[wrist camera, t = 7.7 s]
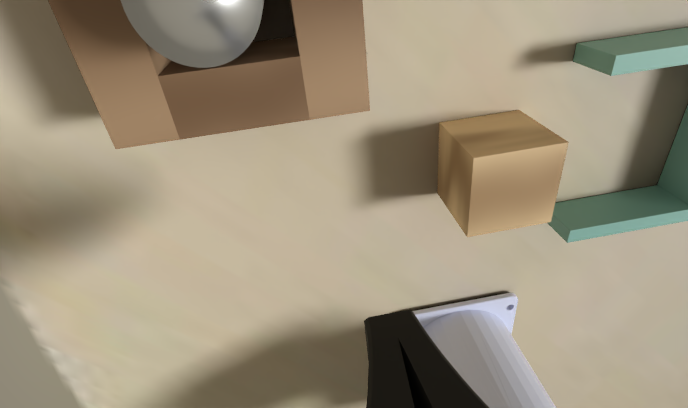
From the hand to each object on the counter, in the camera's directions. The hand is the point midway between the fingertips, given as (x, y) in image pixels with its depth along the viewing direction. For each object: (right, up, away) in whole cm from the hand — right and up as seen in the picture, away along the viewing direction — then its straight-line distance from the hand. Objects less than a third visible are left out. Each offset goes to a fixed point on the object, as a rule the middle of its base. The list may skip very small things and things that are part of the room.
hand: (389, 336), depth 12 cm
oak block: (+5, +6, +9) cm, 12 cm away
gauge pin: (-6, +12, +3) cm, 14 cm away
